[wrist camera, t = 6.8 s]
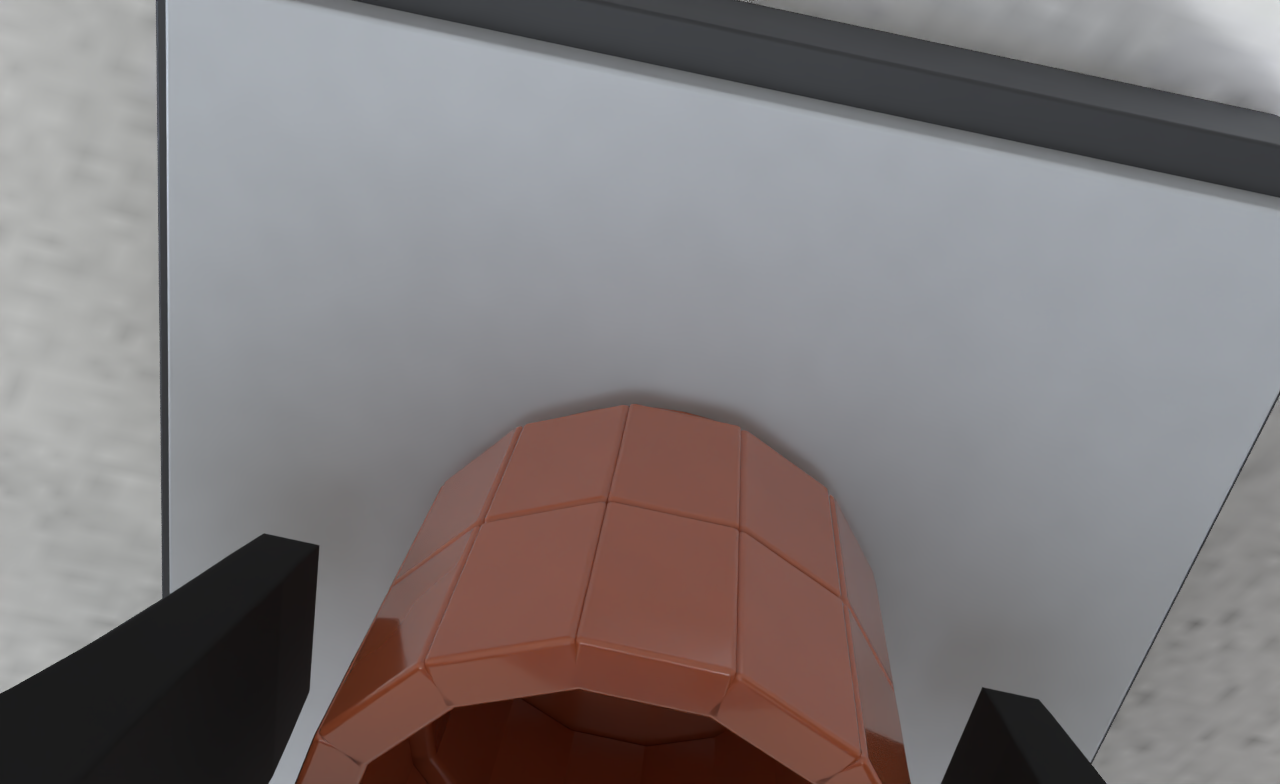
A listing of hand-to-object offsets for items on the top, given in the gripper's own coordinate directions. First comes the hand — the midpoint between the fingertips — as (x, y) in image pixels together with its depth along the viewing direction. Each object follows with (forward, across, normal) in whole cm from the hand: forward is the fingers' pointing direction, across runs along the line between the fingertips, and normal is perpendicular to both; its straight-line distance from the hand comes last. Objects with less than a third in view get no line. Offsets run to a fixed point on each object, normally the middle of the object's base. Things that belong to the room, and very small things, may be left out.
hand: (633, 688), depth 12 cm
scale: (+5, 0, 0) cm, 5 cm away
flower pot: (+2, 0, 0) cm, 2 cm away
